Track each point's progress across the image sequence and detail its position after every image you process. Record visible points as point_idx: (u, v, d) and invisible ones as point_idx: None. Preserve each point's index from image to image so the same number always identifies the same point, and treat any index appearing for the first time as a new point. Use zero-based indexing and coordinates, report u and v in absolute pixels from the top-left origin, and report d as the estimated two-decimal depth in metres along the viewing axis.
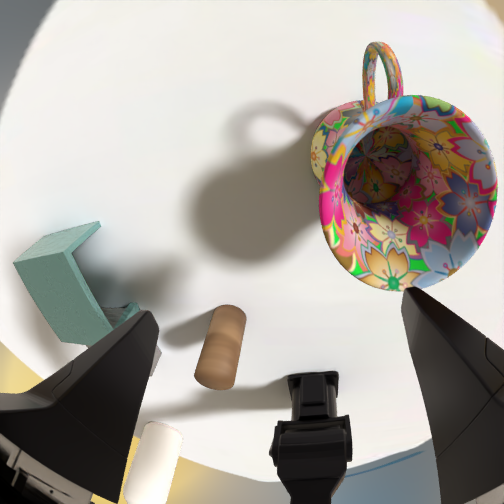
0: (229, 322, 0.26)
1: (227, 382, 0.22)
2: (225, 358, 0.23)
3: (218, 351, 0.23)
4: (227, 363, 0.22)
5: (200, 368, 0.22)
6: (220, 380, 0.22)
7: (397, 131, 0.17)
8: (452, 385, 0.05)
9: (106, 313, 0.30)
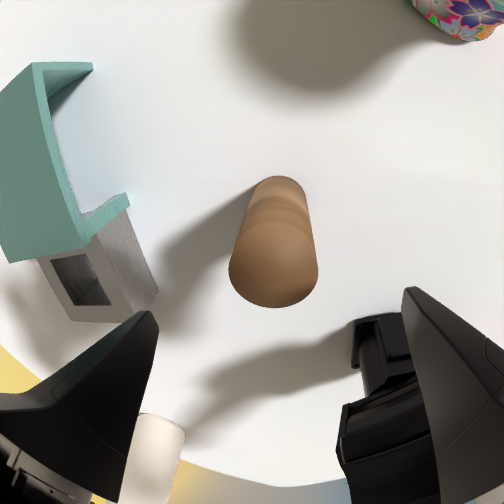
0: (287, 188, 0.15)
1: (302, 280, 0.11)
2: (297, 225, 0.11)
3: (281, 214, 0.12)
4: (303, 233, 0.11)
5: (246, 240, 0.10)
6: (287, 273, 0.11)
7: None
8: (452, 385, 0.05)
9: None
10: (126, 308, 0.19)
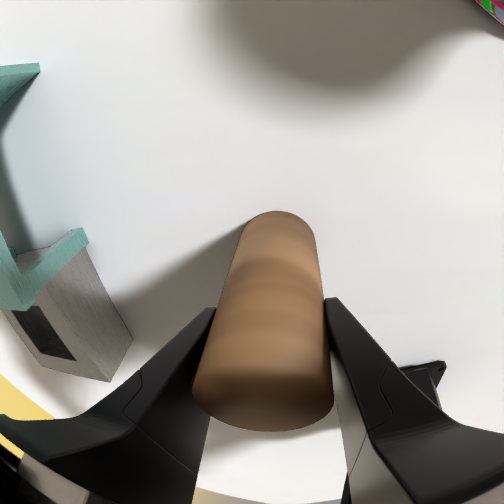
0: (289, 239, 0.10)
1: (307, 410, 0.06)
2: (305, 328, 0.07)
3: (278, 305, 0.07)
4: (314, 344, 0.06)
5: (216, 367, 0.06)
6: (285, 405, 0.06)
7: None
8: (347, 407, 0.05)
9: (35, 255, 0.14)
10: (93, 367, 0.14)
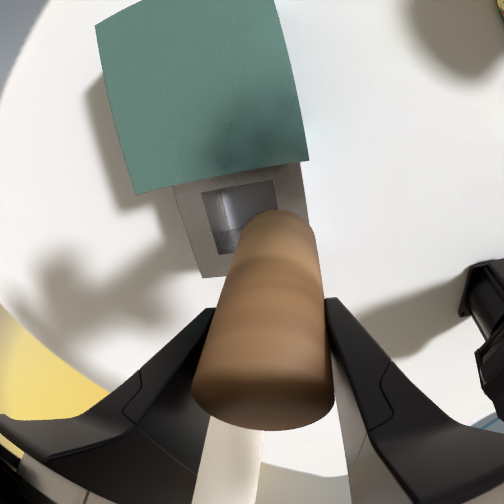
0: (290, 237, 0.10)
1: (307, 410, 0.06)
2: (305, 326, 0.06)
3: (278, 303, 0.07)
4: (315, 343, 0.06)
5: (215, 365, 0.06)
6: (285, 404, 0.06)
7: None
8: (347, 407, 0.05)
9: None
10: None
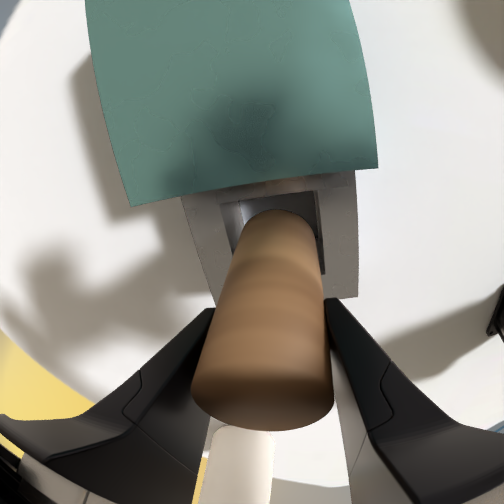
0: (289, 237, 0.10)
1: (307, 410, 0.06)
2: (305, 326, 0.06)
3: (278, 304, 0.07)
4: (314, 343, 0.06)
5: (215, 366, 0.06)
6: (284, 404, 0.06)
7: None
8: (347, 407, 0.05)
9: None
10: (350, 276, 0.14)
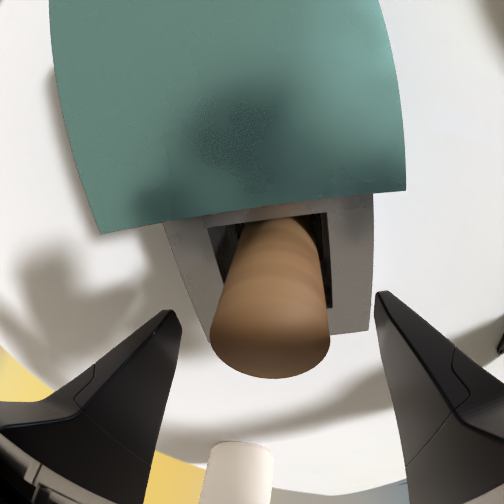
0: None
1: (308, 351, 0.08)
2: (304, 277, 0.08)
3: (281, 260, 0.09)
4: (312, 290, 0.08)
5: (232, 305, 0.07)
6: (288, 344, 0.08)
7: None
8: (416, 395, 0.05)
9: None
10: (361, 309, 0.12)
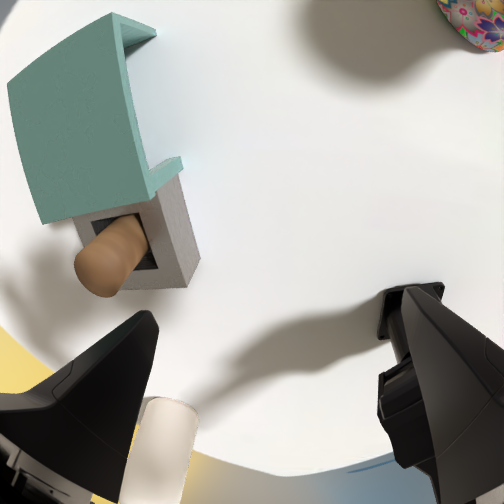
0: (134, 213, 0.19)
1: (111, 280, 0.16)
2: (111, 244, 0.16)
3: (106, 236, 0.16)
4: (112, 250, 0.16)
5: (78, 254, 0.15)
6: (102, 275, 0.15)
7: None
8: (452, 385, 0.05)
9: None
10: (175, 271, 0.20)
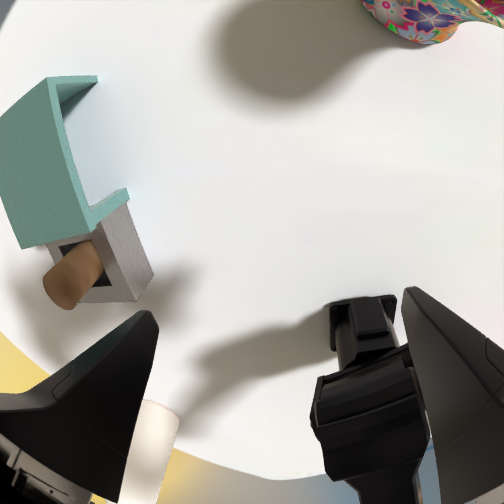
0: None
1: (69, 296, 0.18)
2: (68, 267, 0.18)
3: (65, 260, 0.18)
4: (68, 272, 0.18)
5: (44, 275, 0.17)
6: (62, 292, 0.18)
7: None
8: (452, 385, 0.05)
9: None
10: (125, 287, 0.22)
